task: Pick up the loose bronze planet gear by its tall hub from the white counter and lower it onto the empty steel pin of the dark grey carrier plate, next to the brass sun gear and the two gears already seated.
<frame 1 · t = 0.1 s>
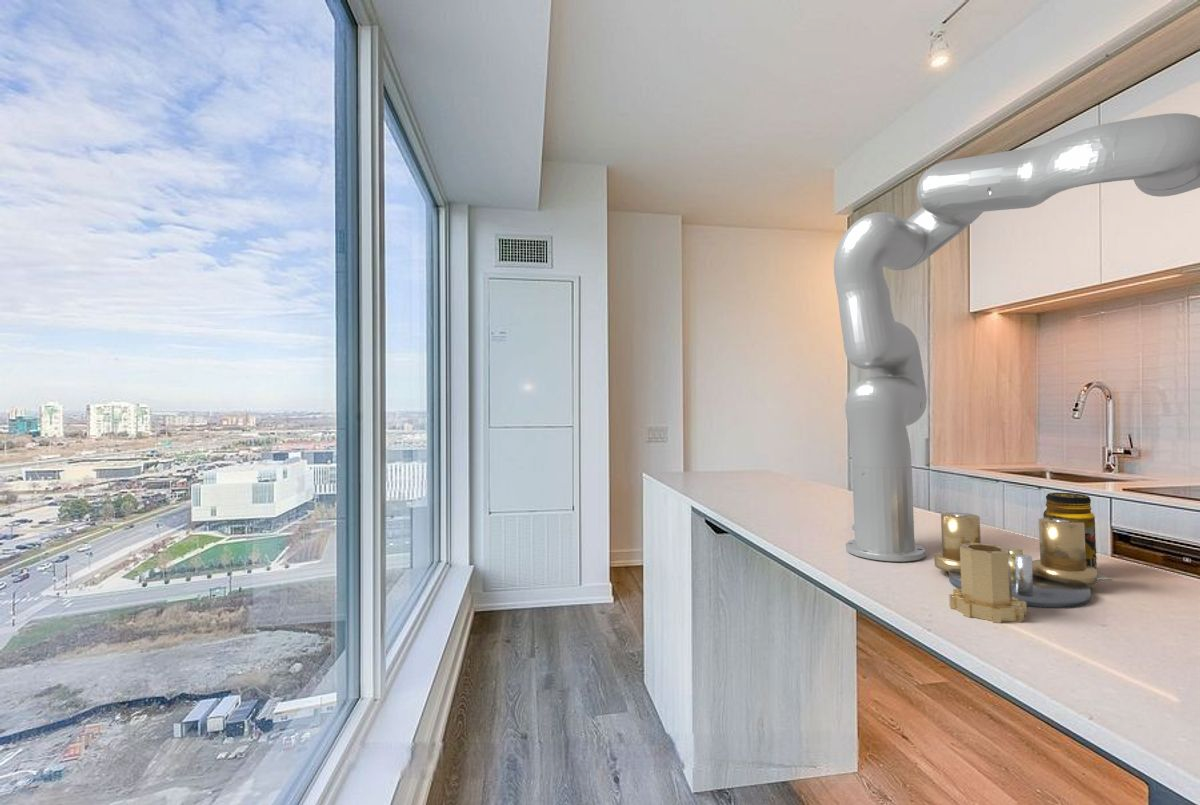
condiment: (1063, 573, 84), on the counter
carrier: (1015, 587, 78), on the counter
planet gear: (987, 610, 70), on the counter
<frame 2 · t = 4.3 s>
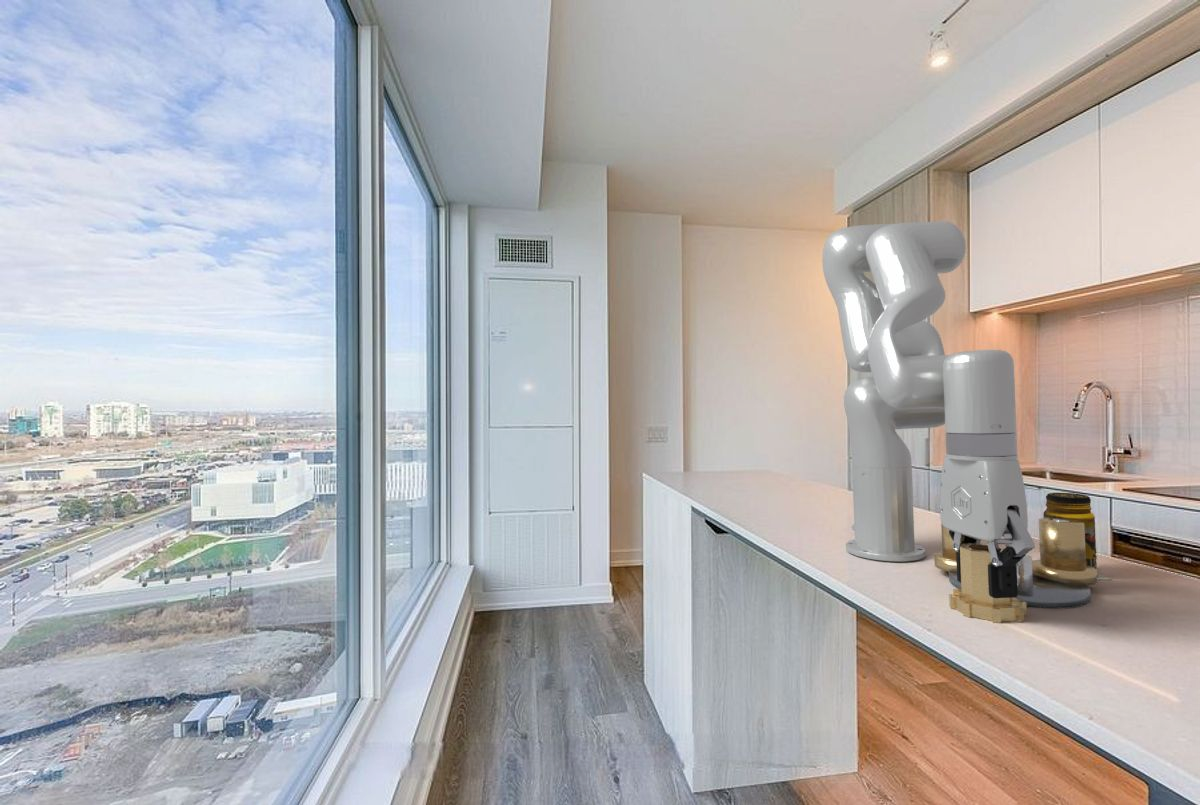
hand: (986, 587, 70), 3 cm above the counter, tool pointing down, fingers closed on planet gear, 5 cm apart
planet gear: (987, 610, 70), on the counter, touching gripper
everything else where it was.
when the fingers open (6 cm above the counter, at t = 8.6 s): planet gear drops 2 cm, resting on carrier.
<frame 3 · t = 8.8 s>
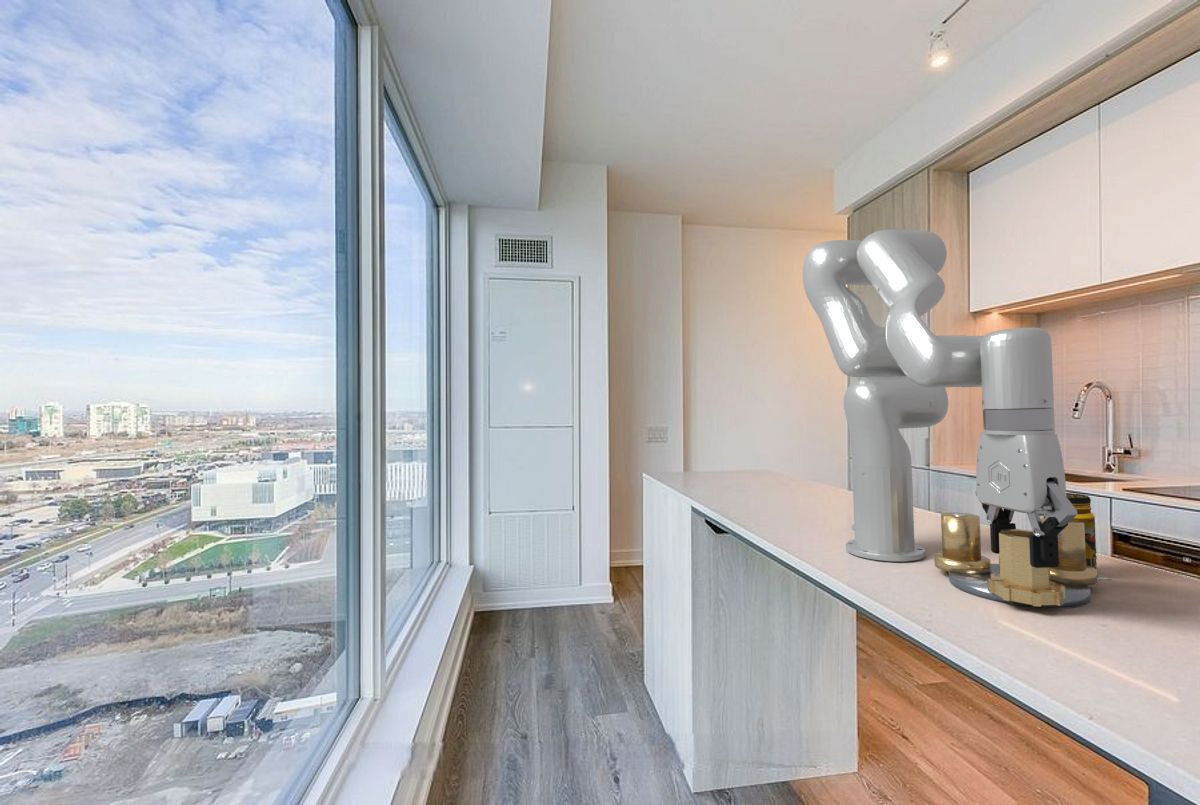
hand: (1023, 558, 72), 6 cm above the counter, tool pointing down, fingers open, 6 cm apart
planet gear: (1025, 594, 72), point 1 cm above the counter, touching carrier, gripper
everything else where it was.
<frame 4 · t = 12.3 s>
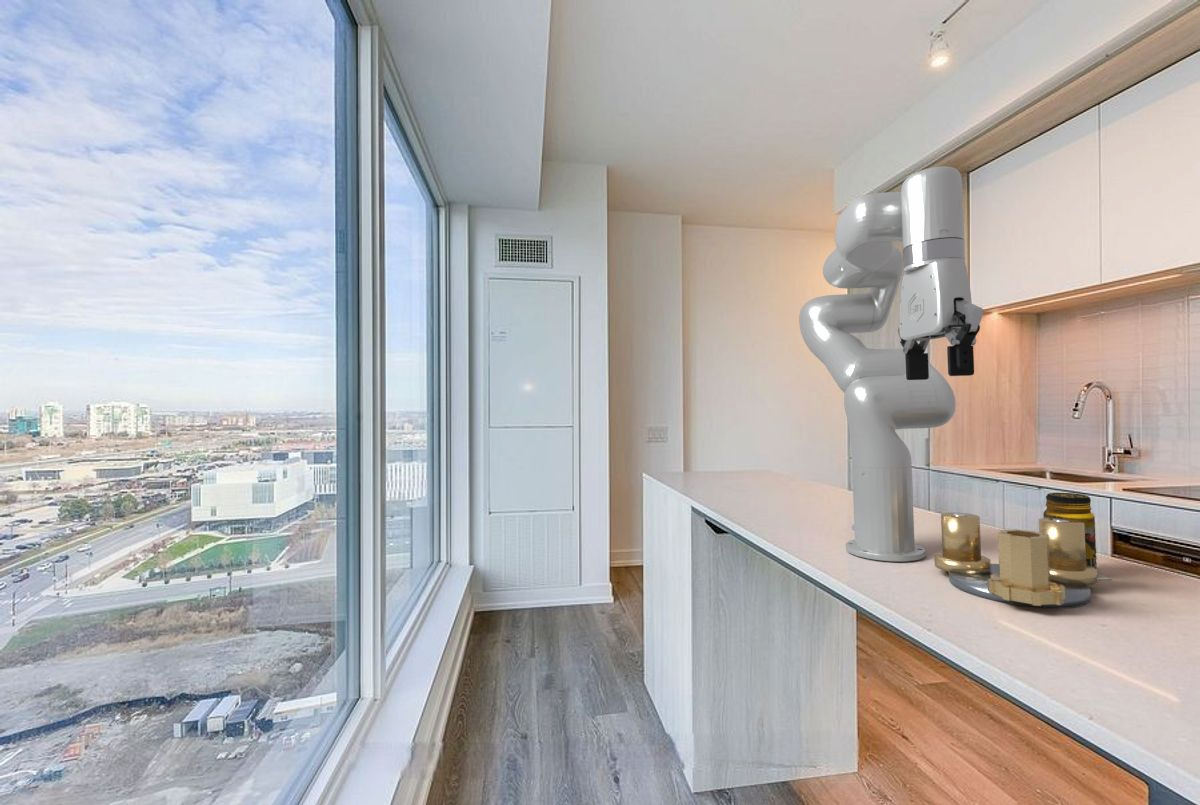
hand: (938, 377, 78), 30 cm above the counter, tool pointing down, fingers open, 9 cm apart
planet gear: (1025, 594, 72), point 1 cm above the counter, touching carrier
everything else where it was.
at the end: planet gear 0.2 cm from the target spot on the carrier, point 1.2 cm above the carrier's base; planet gear tilted 0°; the gripper is holding nothing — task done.
